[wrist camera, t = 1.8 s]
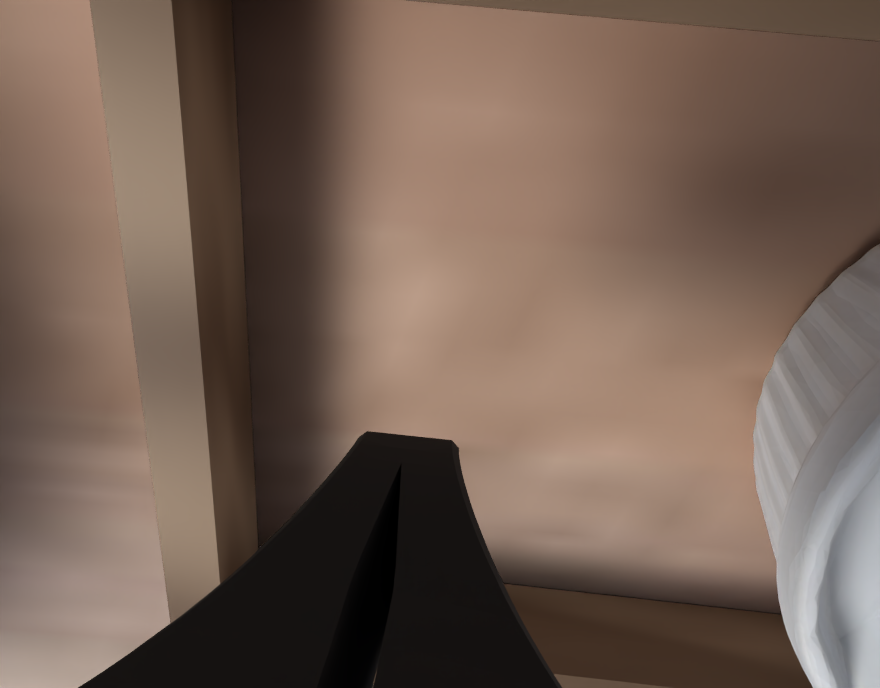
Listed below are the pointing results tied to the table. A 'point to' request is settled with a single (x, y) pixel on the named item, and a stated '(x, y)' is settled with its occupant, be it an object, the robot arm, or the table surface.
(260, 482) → the table surface
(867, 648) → the ramekin
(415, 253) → the table surface
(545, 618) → the brown wooden flat frame
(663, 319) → the table surface
